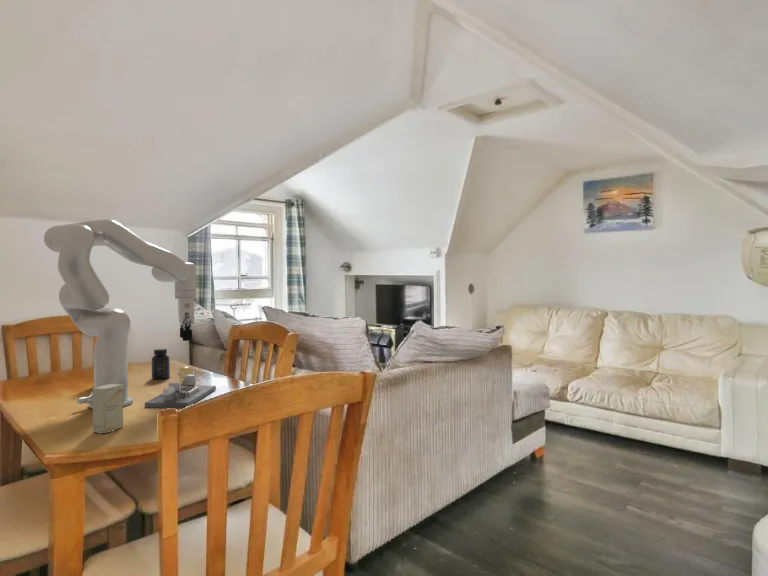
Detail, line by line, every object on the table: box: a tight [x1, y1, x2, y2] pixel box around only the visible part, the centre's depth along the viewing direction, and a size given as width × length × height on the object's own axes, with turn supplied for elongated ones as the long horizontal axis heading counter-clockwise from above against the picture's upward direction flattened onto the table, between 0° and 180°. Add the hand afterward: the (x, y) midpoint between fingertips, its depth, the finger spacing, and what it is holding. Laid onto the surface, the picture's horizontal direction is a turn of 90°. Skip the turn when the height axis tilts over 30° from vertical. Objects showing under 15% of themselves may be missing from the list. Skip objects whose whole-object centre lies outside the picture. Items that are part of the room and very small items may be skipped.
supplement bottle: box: [150, 348, 171, 380], centre depth 195 cm, size 7×7×12 cm
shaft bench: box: [144, 374, 217, 409], centre depth 164 cm, size 24×14×6 cm, turn 179°
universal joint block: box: [177, 365, 196, 386], centre depth 183 cm, size 6×4×7 cm
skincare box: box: [92, 384, 124, 434], centre depth 129 cm, size 6×4×12 cm
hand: (185, 339), depth 182 cm, fingers open, 9 cm apart
